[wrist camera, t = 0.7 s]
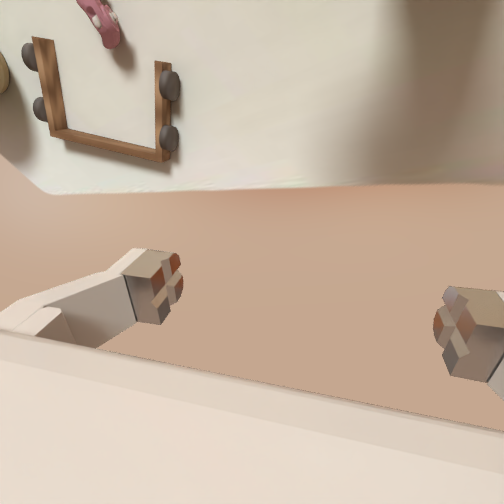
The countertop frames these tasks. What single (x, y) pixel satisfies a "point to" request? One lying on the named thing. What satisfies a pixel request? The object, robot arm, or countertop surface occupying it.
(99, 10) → the video game controller
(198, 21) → the countertop surface
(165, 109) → the chassis bay
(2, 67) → the planter bowl
